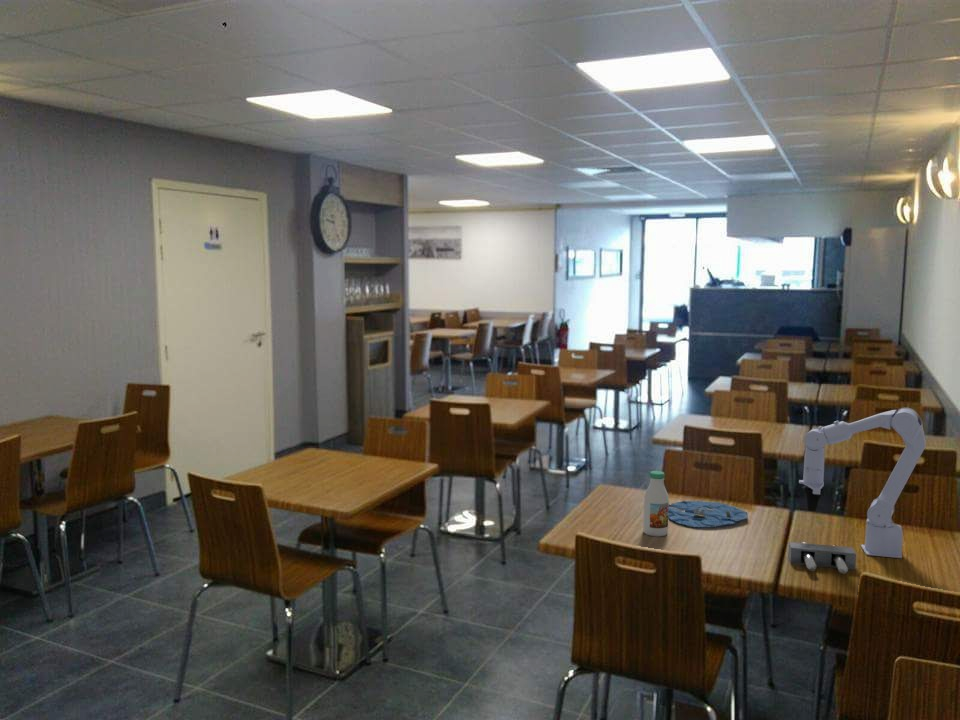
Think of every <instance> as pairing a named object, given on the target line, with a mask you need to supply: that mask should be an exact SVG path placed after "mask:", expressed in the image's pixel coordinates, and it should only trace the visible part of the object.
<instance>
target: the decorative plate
mask: <svg viewBox="0 0 960 720" xmlns="http://www.w3.org/2000/svg"><path fill="white" fill-rule="evenodd" d="M670 504H671V505H670ZM670 504H669V508H668V519H669V520H671V521H674V522H675V523H677V524H680V525H686V526H687V527H689V528H690V527H692V528H696V529H697V528H703V527H704V528H705V527H708V528H715V527H716V528H719V526H728V525H729V526H730V525H733V524H736V522H738V521H741V520H745V519H748V518H749V516H748V515H749V514H748V512H747V511H745V510H743V509H740V508H737V507H736V506H732V505H729V504H725V503H722V502H719V501H715V502H712V501H702V500H683V501H676V502H674V503H670ZM684 511H685V512H684Z"/></svg>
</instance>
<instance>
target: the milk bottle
mask: <svg viewBox="0 0 960 720" xmlns="http://www.w3.org/2000/svg"><path fill="white" fill-rule="evenodd" d="M665 475H666V474H665V472H664V471H661V470H652V471H650V472H649V480H650V481H649V485H648V487H647V488H646V490H645V494H644V497H643V498H644V500H643V522H642V523H643V527H642V528H643V529H642V530H643V531H642V532H643V533H644V534H645V535H647V536H650V537H665V536H666V535H668V531H669V518H668V508H670V506H669V505H670V503H669V502H670V501H669V500H670V499H669V494H668V492H667V488H666V486H665V483H664V482H665V481H664V480H665Z"/></svg>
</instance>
